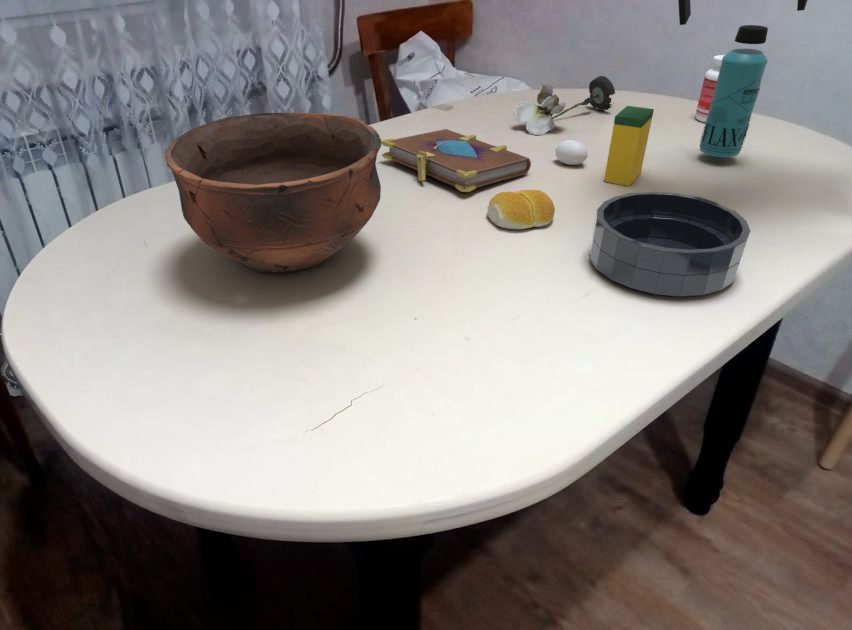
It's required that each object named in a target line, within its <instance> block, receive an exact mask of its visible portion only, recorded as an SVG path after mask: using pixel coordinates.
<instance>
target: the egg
mask: <svg viewBox="0 0 852 630" xmlns="http://www.w3.org/2000/svg"><path fill="white" fill-rule="evenodd" d="M554 150H555V153H554V154H555V157H556V158H557V160H559V161H560V162H561V163H563V164H565V165H569V166H576V165H580V164H582V163H583V162H585V161H586V160H587V158H588V157H589V151H588V149H587V146H586V145H585V144H583V143H582V142H580V141H578V140H575V139H567V140H563V141H561V142H560V143H557V146H556V147H555V149H554Z"/></svg>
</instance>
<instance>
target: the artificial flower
mask: <svg viewBox="0 0 852 630" xmlns="http://www.w3.org/2000/svg"><path fill="white" fill-rule="evenodd" d="M588 92H589V97H587V98H585V99H584V100H583V101H582V102H578V103H575V104H574V105H572V106H571V107H569V108H567V109H565V108H566V107H567V106H568V105H569V104H570V99H565V101H562V102H561V103H559V102H560V98H559V96H558V95H557V94H553V93H554V89H553V85H552V84H549V83H548V84H543V85H541V86H540V88H539V90H538V92H537V95H536V102H534V101H533V100H528V99H523V100H522V101H521V102H520V104H519V103H518V104H517V105H515V107H514V109H513V116H514V117H515V120H516V122H518V123H520V124H526V126H525V127H526V131H527V132H528V134H529V135H531V136H532V135H534V136H543V135H545V134H547V133H548V132H549V131H551V130H554V128H555V122H554V119H557V118H558V117H560V116H562V115H564V114H566V113H568V112H569V111H571V110H573V109H575V108H577V107H579V106H587V105H589V104H590V106H591V107H592V108H593V109H598V110H601V111H608V110H609V109H612V107H613V105H614V104H615V103H614V102H613V104H611V103H612V98H611V97H610V96H613V95H616V90H615V87H614V83H612V81H611V80H610V78H608V77H607V76H604V75H599V76H596V77H595V78H593V79H592V80H591V81H590V82H589V84H588ZM536 103H537V104H538V105H537V104H536Z"/></svg>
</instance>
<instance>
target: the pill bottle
mask: <svg viewBox="0 0 852 630" xmlns="http://www.w3.org/2000/svg"><path fill="white" fill-rule="evenodd" d="M725 55H726V54H719V55H715V56H713V59H712V62H711V66H712V68H709V69H708V70H707V71H706V72H705V75H704V78H703V81H702V86H701V90H700V94H699V98H698V101H697V107H696V110H695V115H694V118H695V119H696V120H698V121H699V122H702V123H704V124H706V120H707V118H706V117H707V116H708V115H707V112H709V109H710V106H709V105H710V104H711V102H712V98H713V95H714V91H715V87H716V83H717V79H718V75H719V71H720V67H721V64H722V58H723V57H724V56H725Z"/></svg>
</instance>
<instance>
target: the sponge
mask: <svg viewBox="0 0 852 630" xmlns="http://www.w3.org/2000/svg"><path fill="white" fill-rule="evenodd" d="M654 110H655V109H654V108H650V107H643V106H642V107H641V106H634V105H626V106H625V107H624V108H623V109H621V110H620V111H619V112H618V113H617V114H615V116H614V119H613V126H612V132H611V138H610V144H609V149H608V155H607V161H606V167H605V173H604V178H603V182H605V183H610V184H615V185H621V186H627V187H631V185H632V184H633V183H634V182H635V181H636V179H637V178H638V177H639V176H640V175H641V173H642V169H643V164H644V160H645V155H646V149H647V146H648V145H647V144H648V141H649V135H650V131H651V126H652V120H653V116H654Z"/></svg>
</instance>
